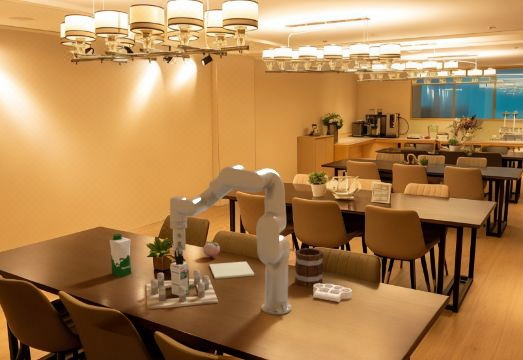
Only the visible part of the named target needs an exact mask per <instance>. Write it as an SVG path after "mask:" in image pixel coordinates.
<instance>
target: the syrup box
mask: <svg viewBox="0 0 523 360" xmlns="http://www.w3.org/2000/svg"><path fill="white" fill-rule="evenodd" d="M189 271H190V270H189V262H187V261H184V260H183V265H176V261H175V262H172V263H170V274H171V277H170V278H171V280H172V288H171V294H172V295H176V296H178V297H179V287H181V286H184V287H186V295H187V294H190V286H189V279H190V274H189V273H190V272H189ZM171 280H170V281H171Z"/></svg>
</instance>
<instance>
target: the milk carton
mask: <svg viewBox="0 0 523 360" xmlns="http://www.w3.org/2000/svg"><path fill="white" fill-rule="evenodd" d="M112 236H113V237H112V239H109V240H108V241H109V245H110V255H111V256H110V259H111V275H112V276H116V277H119V278H122V277H125V276H128V275H132V265H131V250H130V249H131V241H132V239H131V238H127V237H123V236H122V234H120V233H116V234H113V235H112Z"/></svg>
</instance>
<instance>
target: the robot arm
mask: <svg viewBox="0 0 523 360" xmlns="http://www.w3.org/2000/svg"><path fill="white" fill-rule="evenodd" d="M282 178H283V177H281V175H280V174H279V173H278V172H276V171H275V170H274V169H272V168H267V167H262V168H258V169H255V170H247V169H246V168H245V167H244V166H243V165H241V164H236V163H235V164H231V165H228V166H224V167H223V168H222V169H221V170H220V171H219V173H218V175H217V176H216V177H215V178H213V179H212V180H211V181H210V182H209V183H208V185H209V186H208V188H207V189H205V190H204V191H203V192H201V193H200V194H198V195H197V196H194V197H191V198H186V196H185V197H184V196H180V195H179V196H178V195H177V196H172V197H171V198H170V199H169V228H170V229H171V230H172V241H173V249H174V251H173V254H174V255H173V256H174V258H175V262H176V265H183V261H184V251H186V248H187V247H186V229H187V228H188V217H195V216H196V215H199V214H201V213H204V212H206V211H208V209H210V208H211V207H213V206H214V205H215V204H217V203H218V202H220V200H221V199H222V198H224V197H225V196H226V195H228V194H229V193H231V191H233V190H236V191H237V190H238V191H241V192H247V193H259V192H262V191H263V190H264V192H265V193H264V201H263V202H264V214H263V215H262V216H260V217H259V218H258V220H257V222H256V226H255V227H256V228H255V230H256V231H255V233H256V234H255V235H256V248H257V249H256V250H257V257H258V258H259V260H260V262H261V263H263V264H264V265H265V272H264V273H265V276H264V279H265V280H264V281H265V282H264V284H265V285H264V286H265V287H264V288H265V289H264V291H265V293H264V299H265V300H264V303H262V304H261V310H262V311H263V312H264V313H266V314H270V315H286V314H288V313H289V312H291V311H292V304H290V303H289V259H290V252H291V246H290V242H289V239H288V238H286V237H285V236H284V235H282V234H280V233H282V232H283V231H284V230H285V229H286V226H287V210H286V209H287V207H286V191H285V183H284V180H283V179H282Z"/></svg>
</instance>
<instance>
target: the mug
mask: <svg viewBox="0 0 523 360" xmlns="http://www.w3.org/2000/svg"><path fill="white" fill-rule="evenodd" d="M294 252H295V263H294V267H295V277H294V282H295V283H296V284H298V285H297V286H302V287H305V286H306V288H312V286H313V285H314V284H317V283H320V284H321V283H322V284H324V283H323V271H324V270H323V269H324V265H323V263H324V262H323V258H324V257H323V256H324V252H323V251H322V250H321V249H316V248H312V247H310V248H309V247H308V248H307V247H306V248H299V249H298V250H295V251H294Z"/></svg>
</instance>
